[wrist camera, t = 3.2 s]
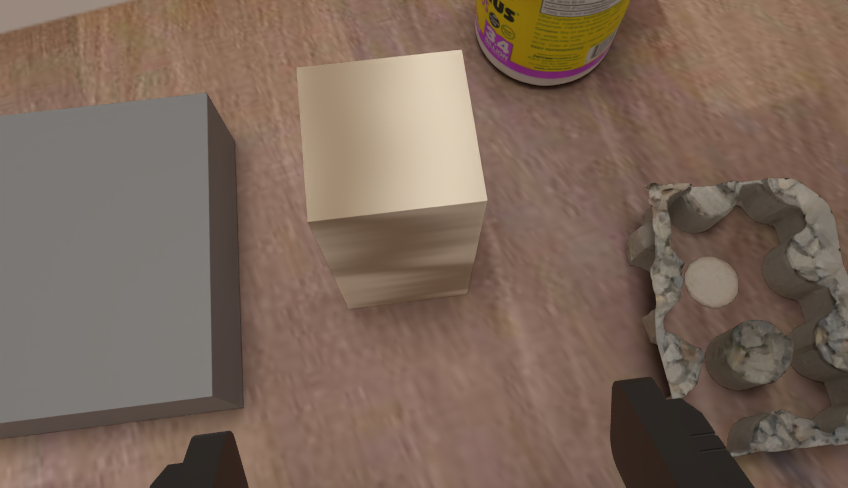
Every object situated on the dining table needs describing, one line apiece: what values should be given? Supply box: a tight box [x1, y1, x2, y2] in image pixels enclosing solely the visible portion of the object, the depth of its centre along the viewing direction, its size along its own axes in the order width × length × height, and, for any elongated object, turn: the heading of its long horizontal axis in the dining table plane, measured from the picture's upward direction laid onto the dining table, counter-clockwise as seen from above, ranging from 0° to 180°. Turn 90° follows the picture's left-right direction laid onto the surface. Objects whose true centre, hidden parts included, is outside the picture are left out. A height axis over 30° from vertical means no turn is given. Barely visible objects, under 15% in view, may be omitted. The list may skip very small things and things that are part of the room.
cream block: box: [297, 50, 487, 309], centre depth 24 cm, size 5×5×10 cm
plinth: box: [0, 93, 243, 439], centre depth 26 cm, size 12×12×4 cm
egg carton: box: [626, 178, 848, 457], centre depth 26 cm, size 11×8×4 cm
